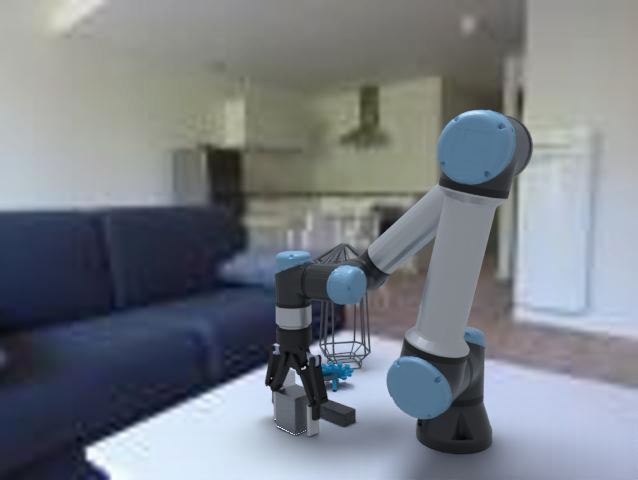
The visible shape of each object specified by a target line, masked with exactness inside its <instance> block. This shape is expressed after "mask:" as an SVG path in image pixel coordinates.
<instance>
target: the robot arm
mask: <svg viewBox="0 0 638 480" xmlns="http://www.w3.org/2000/svg"><path fill="white" fill-rule="evenodd" d="M436 145H437V146H436V156H437V160H438V164H439V166H440V167H441V171H440V176H439V181H438V183H437V184H436V185H435V186H433V187H432V188H431V189H430V190H429V191H428V192H427V193H426V194H425V195H424V196H422V197H421V199H419V200H418V201H417V202H416V203H415V204H414V205H413V206H411V207H410V209H408V210H407V211H406V212H405V213H404V214H403V215H402V216H401V217H400V218H398V220H396V221H395V222H394V223H393V224H392V225H390V227H388V228H387V229H386V230H385V232H383V233H382V234H381V235H380V236H379V237H378V238H377V239H375V241H373V242H372V243H371V244H370V245H369V246H368V247H367V248H366V249H365V250H364V251H362V252H361V253H362V254H360V253H359V254H360V255H359V256H358V257H354V258H355V259H352V258H351V259H352V260H349V261H345V262H337V264H336V263H332V264H331V263H330V264H329V263H328V264H318V263H315V262H313V259H312V256H311V254H310V252H308V251H304V250H286V251H282V252H279V253H277V254H276V255H275V259H274V263H275V264H274V273H273V274H274V283H275V284H274V285H275V324H277V326H276V331H275V332H276V335H275V336H276V337H275V338H276V343H273V344H270V345H269V347H268V351H269V356H268V362H267V363H268V364H267V369H266V374H265V380H264V385H265V387H269V388H270V391H271V397H272V398H271V400H272V404H273V420H274V419H276V395H275V392H276V391H278V390H281V389H280V388H282V387H284V385H283V383H284V381H285V379H286V376H287V374H288V372H289V369H290V370H293V371H295V374H296V375H297V376H299V378H300V381H301V383H302V386H303V387H304V389H305V392H306V395H307V397H308V400H309V403H310V404H308V405H307V431H306V433H307V434H306V435H307V436H308V437H312V436H314V435H316V434H318V433H320V419H321V418H320V417H321V405H322V404H324V403H326V402H328V399H329V396H328V392H327V387H326V382H325V381H324V376H323V372H322V367H321V364H322V360H323V359H322V358H323V357H322V355H321V354H313V353H312V352H311V349H310V346H311V343H312V342H313V326H312V324H311V323H312V319H313V318H312V301H317V302H322V301H324V302H325V303H326V302H329V303H331V304H332V303H334V304H337V305H340V306H342V305H343V306H344V305H350V306H351V305H352V306H354V304H356V305H357V304H360V301H361V298H363V299H364V296H365V292H368V293H369V292H371V291H375V290H377V289H379V288H381V286H384V285H385V284H386V283H387V282H388V280H389V278H390V276H391V275H392V274H393V273H394V272H395V271H396V270H398V268H400V267H401V266H402V265H403V264H405V262H407V261H408V260H409V259H410V258H412V257H413V256H414V255H415V254H417V252H418V251H420V250H421V249H422V248H423V247H425V246H426V245H427V244H429V242H431V241H432V240H433V239H434V238H435V239H434V244H433V249H432V253H431V257H430V261H429V266H428V269H427V275H426V279H425V283H424V288H423V293H422V296H421V301H420V305H419V311H418V312H417V313H418V314H417V317H416V322H415V325H414V326H413V327H411V328H409V329H408V330H406V332H405V333H404V338H403V342H402V347H401V351H400V353H399V354H400V355H399V357H398V358H397V359H395V360H394V361H392V364H391V365H390V367H389V369H388V370H387V373H386V388H387V392H388V394H389V396H390V397H391V398H392V400H393V402H394V404H395V406H396V407H398V409H399V410H400V411H402V412H403V413H405V414H406V415H408V416H410V417H412V418H415V419H417V420H416V427H415V429H416V430H415V433H416V437H417V440H419V442H421V444H422V445H425V446H427V447H428V448H431V449H434V450H437V451H441V452H444V453H451V454H473V453H478V452H481V451H484V450H485V449H487V448H488V447H489V446H491V444H492V443H493V430H492V429H493V428H492V425H491V423H490V422H491V421H490V419H489V415H488V413H487V409H486V406H485V402H484V401H485V400H484V399H485V398H484V397H485V395H484V394H485V391H484V390H485V357H486V356H485V355H486V354H485V351H486V350H485V349H486V348H487V347H486V344H485V343H486V342H485V334H484V332H483V331H482V330H480V329H479V328H476V327H472V326H468V322H469V318H470V317H469V316H470V314H471V309H472V305H473V301H474V297H475V294H476V293H475V292H476V289H477V285H478V281H479V277H480V275H481V274H480V272H481V269H482V266H483V265H482V264H483V261H484V257H485V253H486V249H487V246H488V242H489V241H488V240H489V236H490V234H491V230H492V224H493V221H494V217H495V213H496V209H497V208H498V207H499V206H501V205H502V204H505V202H507V201H509V196H510V192H511V188H512V184H513V181H514V179H515V178H516V177H518V176H519V175H520V174H522V172H524V171H525V169H526V168H527V167H528V165H529V163H530V161H531V159H532V157H533V153H534V152H533V151H534V142H533V137H532V135H531V133H530V131H529V129H528V127H527V126H526V125H525V124H524V123H523V122H521V121H520V120H519V119H518V118H515V117H512V116H509V115H506V114H503V113H501V112H497V111H494V110H491V109H487V110H485V109H476V110H475V109H474V110H468V111H465V112H463V113H459V114H458V115H457V116H455V117H454V118H453V119H451V120H450V121H449V122H448V123H447V124H446V125H445V127H444V129H442V131H441V133H440V135H439V137H438V141H437V144H436ZM314 397H315V399H314Z"/></svg>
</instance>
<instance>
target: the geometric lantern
mask: <svg viewBox="0 0 638 480" xmlns="http://www.w3.org/2000/svg"><path fill="white" fill-rule="evenodd" d="M347 248H348V249H347ZM348 250H349V251H350V252H351V253H352V254H353V255H354V256H355V257H353V258H350V255H349V252H348ZM362 253H363V252H361V251H359V250H358V249H357V248H355V247H354V246H352V245H351V244H350V243H346V242H341V243H339V244H338V245H337V244H336V246H334V247H333V248H330V249H329V250H327V251H326V252H324V253H323V254H321V255H319V256H318V257H316V258H314V259H312V262H314V263H317V264H329V263H330V264H337V263H341V262H345V261H349V260H352V259H355V258H357V257H358V256H359V255H360V254H362ZM340 256H341V257H340ZM323 258H324V259H323ZM339 258H341V259H339ZM368 293H369V291H368V292H365V294H364V296H365V308H364V297H363V298H361V301H360V302H359V315H360V316H359V318H360V336H361V339H360V341H356V328H357V327H356V326H357V325H356V323H357V322H356V321H357V315H356V314H357V304H354V305H353V340H348V341H335V312H334V308H335V307H334V306H335V305H334V304H335V303H331V340H332V341H331V342H327V341H328V325H329V323H328V321H329V304H330V302H325V317H323V316H324V315H323V314H324V301H321V305H320V306H321V310H320V323H319V324H320V325H319V326H320V327H319V341H318V342H319V344H318V346H319V349H320V350H321V353H322V355H323V356H324V358H326V363H327V364H328V362H329V361H331V362H333V364H334V365H336V366H338V364H337V363H338V362H339V361H342V362H343V364H350V363H351V364H352V363H356V364H357V365H359V366H358V367H352V368H353V370H357V369H362V367H363V360H364V359H365V358H366V357H368V355H370V354H371V352H372V351H371V350H372V349H371V333H370V319H369V318H370V317H369V316H370V315H369V302H368V301H369V298H368ZM364 309H366V311H365V310H364ZM364 311H365V312H366V325H367V326H366V327H367V330H366V329H365V328H366V327H365V312H364ZM323 318H324V319H325V321H324V335H322V334H323ZM366 331H367V341H366ZM322 336H323V337H324V338H323V337H322ZM322 339H323V343H322ZM366 342H367V343H366ZM340 344H341V345H342V344H343V345H345V344H352V347H351V350H350V351H345V352H338V353H335V345H340ZM355 344H358V345H359V346H358V347H357V348H356V349H355V351H354V352H353V350H354V346H355ZM327 345H328V346H329V345H331V346H332V347H331V348H332V350H331V351H332V353H330V352H329V350H328V347H327ZM367 345H368V347H367ZM322 346H324V347H322ZM361 347H363V353H364V354H356V353H357V352H358V350H359V349H360V348H361ZM361 357H362V358H361ZM332 358H333V359H332ZM336 358H339V359H336ZM356 358H357V359H359V360H357V359H356ZM347 360H349V361H347ZM351 360H352V361H351Z"/></svg>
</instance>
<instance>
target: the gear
mask: <svg viewBox="0 0 638 480" xmlns="http://www.w3.org/2000/svg"><path fill="white" fill-rule="evenodd" d="M337 362H338V363H337V364H338V366H337V364H335V365H334V363H333V362H329V363H327V364H325V363H321V367H322V372H323V376H324V381H330V382H331V381H332V382H331V384H332V391H333V390H338V389H337V387H338V386H337V382H336V381H338V382H340V380H341V381H345V380H347V379H348V378H350V377H352V375H353V373H354V369H353V368H354V367H351V364H350V363H343V362H344V361H340V362H339V361H337ZM343 364H344V365H343Z"/></svg>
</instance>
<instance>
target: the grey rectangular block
mask: <svg viewBox="0 0 638 480" xmlns="http://www.w3.org/2000/svg"><path fill="white" fill-rule="evenodd" d="M275 395H276V421H275V426H276V425H277V426H279V427H281V428H283V429H285V430H287V431H289V432H291V433H293V434H295V435H296V434H298V433H301V432H303V431H305V430H307V405H308V404H310V403H309V400H308V397H307V395H306V392H305V389H304V387H303V385H300V384H297V383H295V385H292V386H289V387H287V388H284V389H281V390H278V391H276V392H275ZM314 399H315V397H314ZM303 433H304V432H303ZM301 434H302V433H301Z"/></svg>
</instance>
